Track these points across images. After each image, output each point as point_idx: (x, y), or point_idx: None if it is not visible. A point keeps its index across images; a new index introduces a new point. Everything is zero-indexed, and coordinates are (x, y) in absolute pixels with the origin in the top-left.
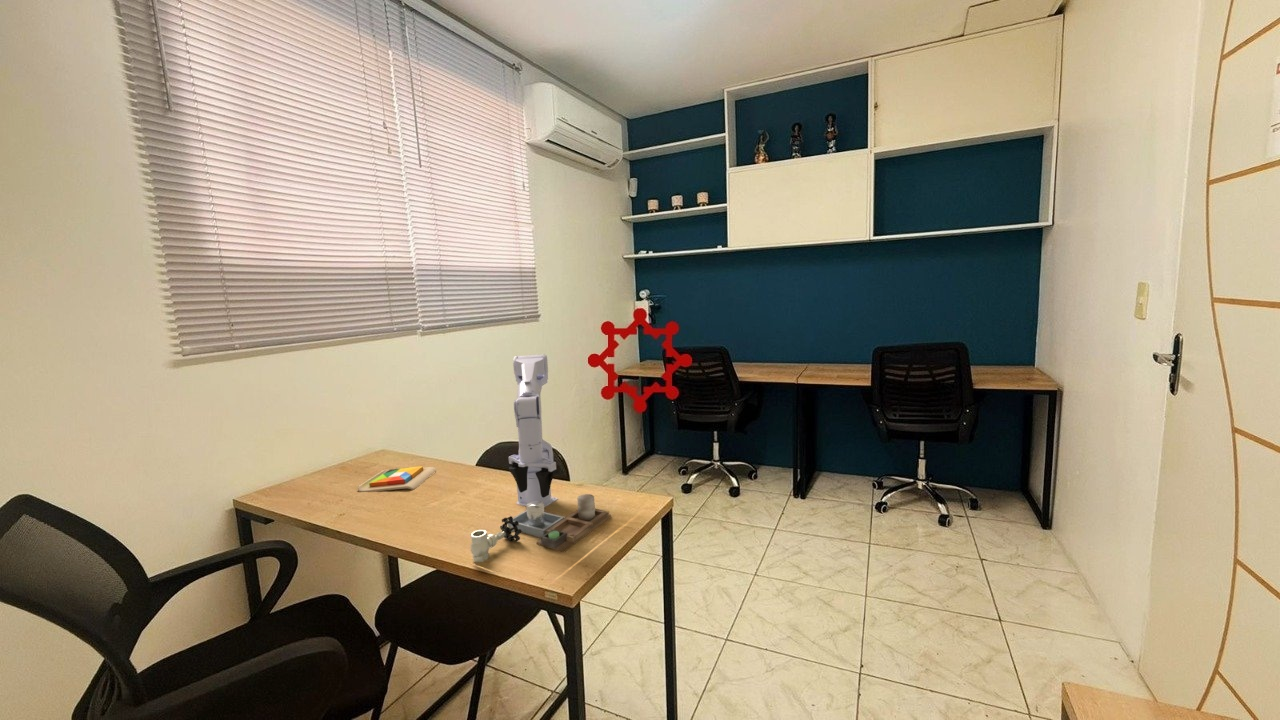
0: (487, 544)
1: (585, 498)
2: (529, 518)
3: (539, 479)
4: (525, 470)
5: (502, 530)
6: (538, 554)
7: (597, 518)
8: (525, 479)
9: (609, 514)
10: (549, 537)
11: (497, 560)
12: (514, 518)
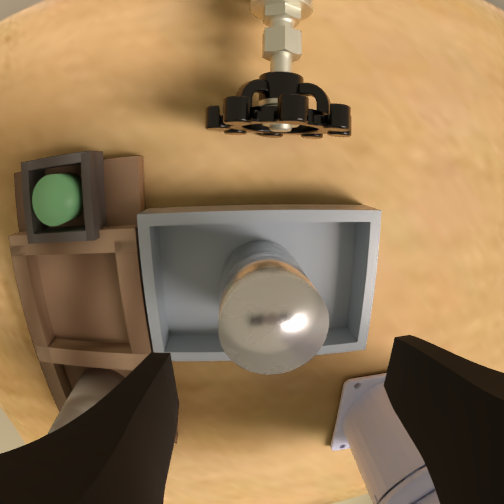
0: None
1: None
2: (270, 255)
3: (72, 462)
4: (455, 495)
5: (297, 75)
6: (90, 112)
7: (55, 391)
8: (422, 435)
9: None
10: (59, 174)
11: (209, 5)
12: (368, 245)
